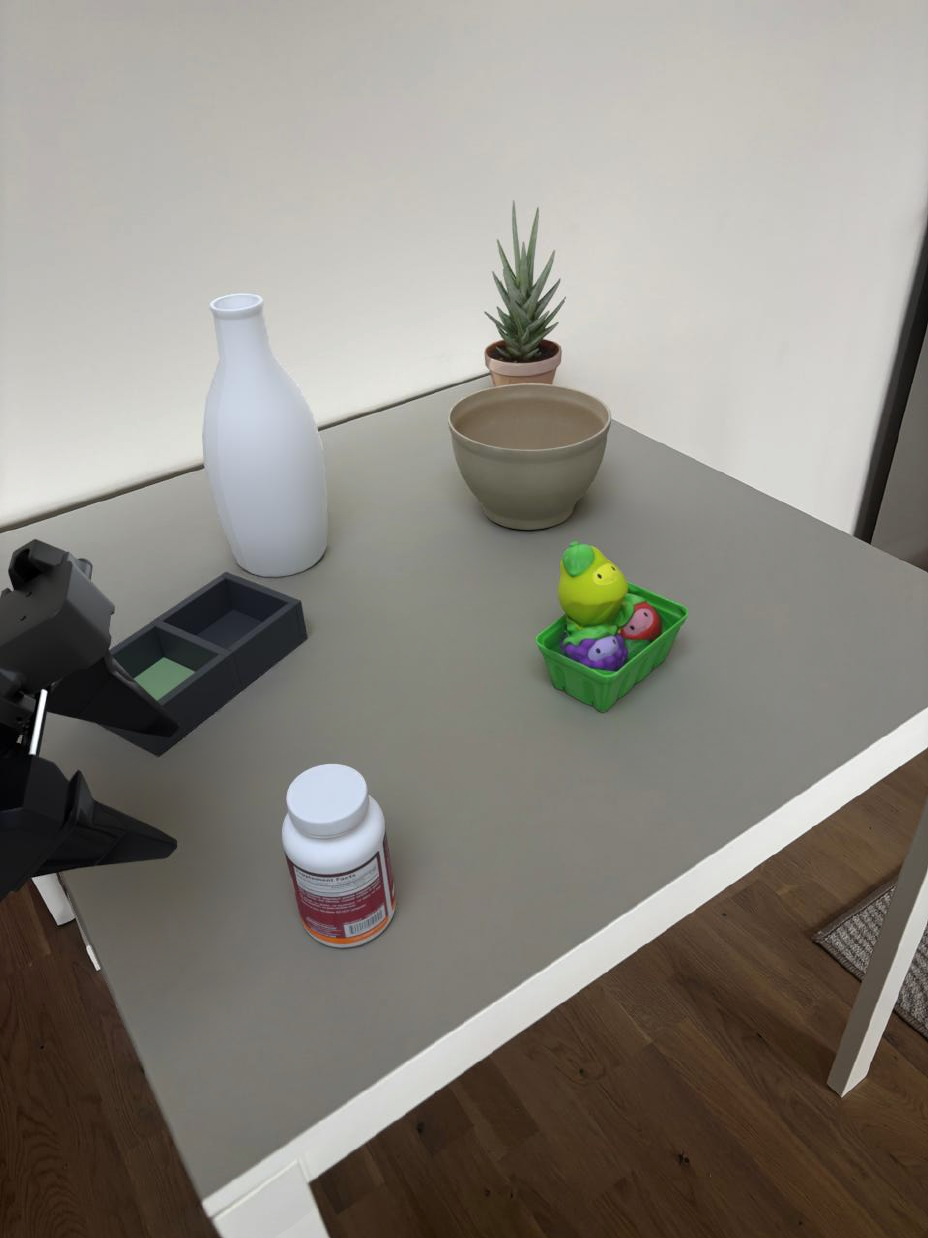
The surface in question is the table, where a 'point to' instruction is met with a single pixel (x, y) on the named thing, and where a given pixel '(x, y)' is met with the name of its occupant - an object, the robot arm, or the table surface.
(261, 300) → the bottle
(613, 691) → the fruit basket
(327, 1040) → the table surface
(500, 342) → the potted plant
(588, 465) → the planter bowl
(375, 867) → the pill bottle
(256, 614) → the tray
